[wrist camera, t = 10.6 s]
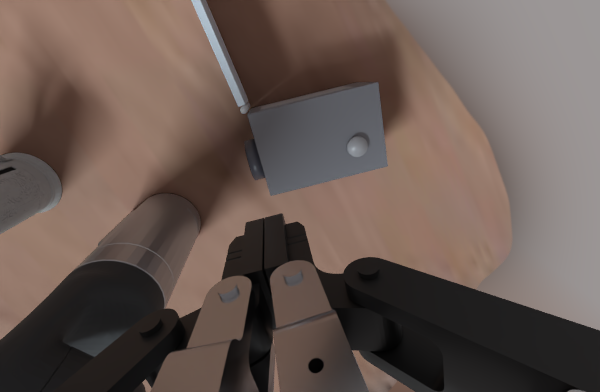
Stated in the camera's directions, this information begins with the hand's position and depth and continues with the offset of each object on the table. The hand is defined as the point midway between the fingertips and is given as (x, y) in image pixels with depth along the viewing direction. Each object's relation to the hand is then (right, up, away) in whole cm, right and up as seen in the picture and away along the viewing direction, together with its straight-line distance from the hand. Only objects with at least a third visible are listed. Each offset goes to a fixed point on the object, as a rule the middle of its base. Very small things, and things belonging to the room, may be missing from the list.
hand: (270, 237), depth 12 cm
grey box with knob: (+3, +11, +30) cm, 32 cm away
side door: (-9, +20, +24) cm, 33 cm away
